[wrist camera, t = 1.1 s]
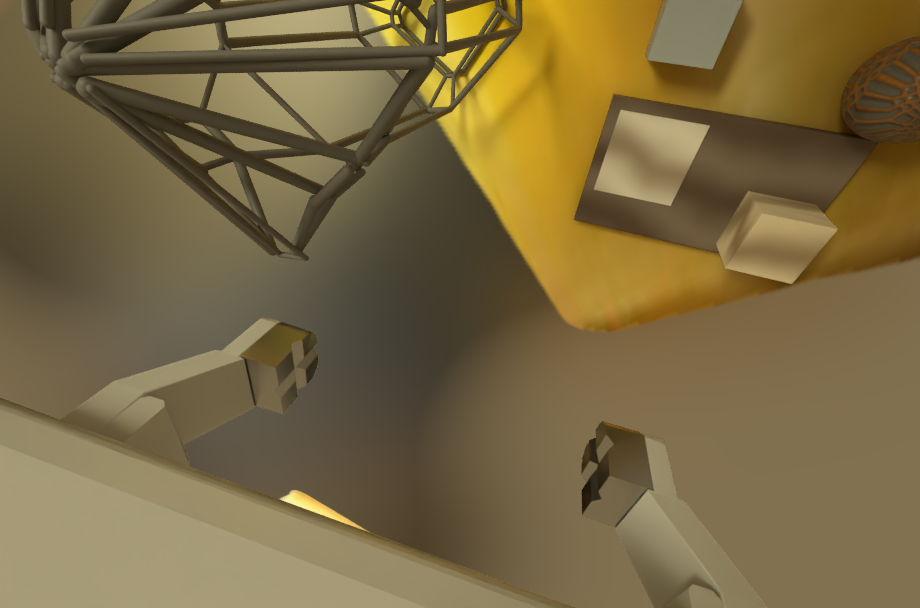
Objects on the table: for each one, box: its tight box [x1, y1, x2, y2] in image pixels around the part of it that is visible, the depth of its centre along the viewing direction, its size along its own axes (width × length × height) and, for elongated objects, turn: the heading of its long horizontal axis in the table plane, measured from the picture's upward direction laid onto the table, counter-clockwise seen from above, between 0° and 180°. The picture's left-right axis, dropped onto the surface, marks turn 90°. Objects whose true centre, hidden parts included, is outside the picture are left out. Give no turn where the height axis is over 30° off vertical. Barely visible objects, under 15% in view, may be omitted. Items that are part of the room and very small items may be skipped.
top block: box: [645, 0, 743, 69], centre depth 31 cm, size 5×5×4 cm
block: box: [716, 191, 838, 284], centre depth 37 cm, size 6×6×5 cm
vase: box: [841, 36, 920, 143], centre depth 28 cm, size 7×7×9 cm
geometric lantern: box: [21, 0, 522, 261], centre depth 24 cm, size 16×16×35 cm
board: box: [574, 94, 879, 253], centre depth 39 cm, size 13×22×1 cm, turn 84°
